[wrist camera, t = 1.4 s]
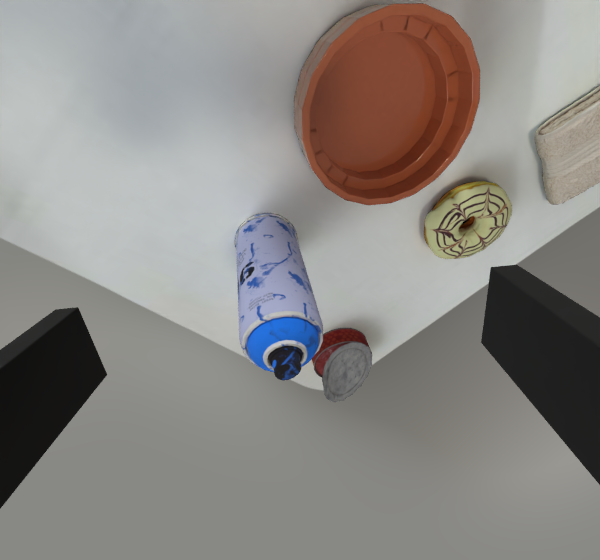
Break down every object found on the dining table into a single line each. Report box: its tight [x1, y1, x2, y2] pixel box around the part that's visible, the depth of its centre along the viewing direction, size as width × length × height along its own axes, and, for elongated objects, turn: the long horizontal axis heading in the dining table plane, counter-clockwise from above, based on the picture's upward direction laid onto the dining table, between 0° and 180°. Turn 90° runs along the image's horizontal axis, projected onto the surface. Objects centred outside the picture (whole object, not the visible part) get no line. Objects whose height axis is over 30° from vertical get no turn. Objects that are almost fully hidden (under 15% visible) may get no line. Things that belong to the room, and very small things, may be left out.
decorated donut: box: [424, 181, 512, 259], centre depth 43 cm, size 10×11×4 cm
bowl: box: [294, 3, 480, 205], centre depth 33 cm, size 16×16×6 cm
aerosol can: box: [235, 213, 323, 380], centre depth 35 cm, size 8×8×20 cm
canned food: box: [312, 328, 372, 402], centre depth 56 cm, size 11×10×10 cm
